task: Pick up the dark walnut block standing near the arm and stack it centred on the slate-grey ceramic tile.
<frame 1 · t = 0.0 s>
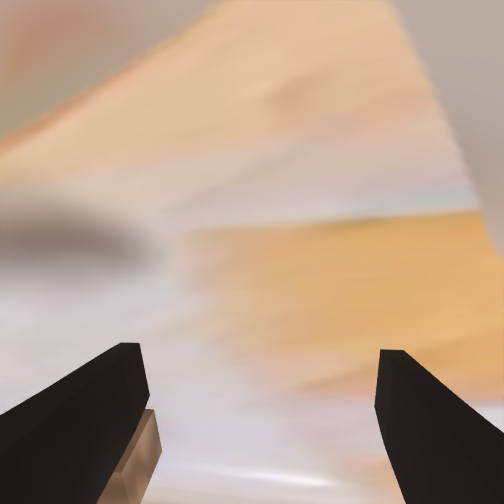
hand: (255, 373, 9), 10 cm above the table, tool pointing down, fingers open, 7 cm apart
walnut block: (132, 428, 25), on the table
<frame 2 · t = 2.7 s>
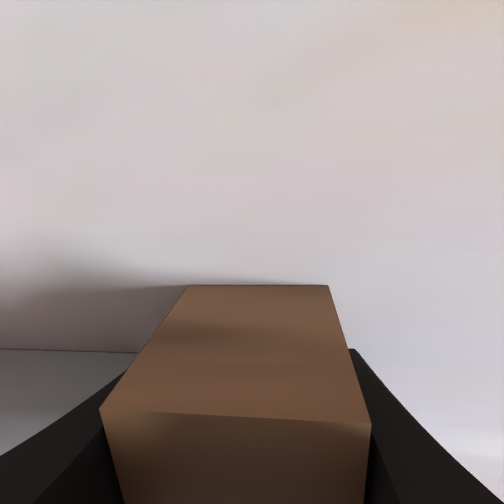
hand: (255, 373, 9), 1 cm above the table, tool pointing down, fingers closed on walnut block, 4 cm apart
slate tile: (58, 437, 13), on the table
walnut block: (259, 344, 10), on the table, touching gripper
when the fingers open (5 cm above the table, at t = 6.0 s): walnut block stays where it is, resting on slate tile.
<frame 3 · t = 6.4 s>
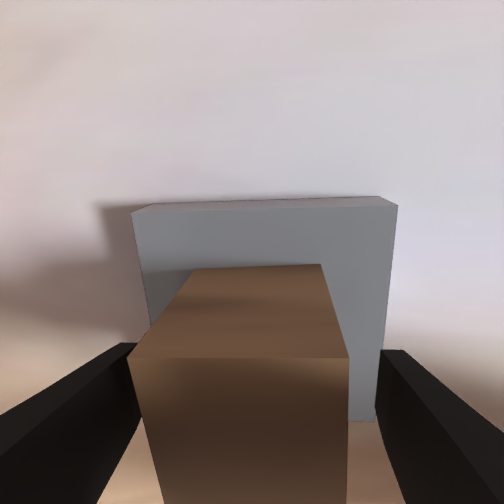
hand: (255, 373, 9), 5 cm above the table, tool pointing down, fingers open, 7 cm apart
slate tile: (265, 300, 13), on the table
walnut block: (261, 321, 11), point 2 cm above the table, touching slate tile
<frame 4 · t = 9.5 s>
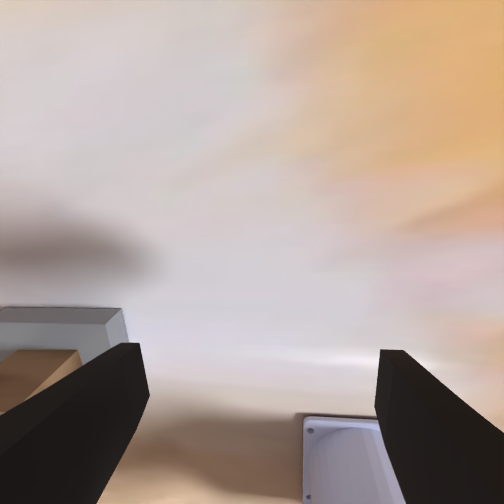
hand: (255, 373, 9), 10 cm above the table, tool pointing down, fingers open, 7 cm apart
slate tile: (77, 360, 23), on the table
walnut block: (56, 377, 21), point 2 cm above the table, touching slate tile
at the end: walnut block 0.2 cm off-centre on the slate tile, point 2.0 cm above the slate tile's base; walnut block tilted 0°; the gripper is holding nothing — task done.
